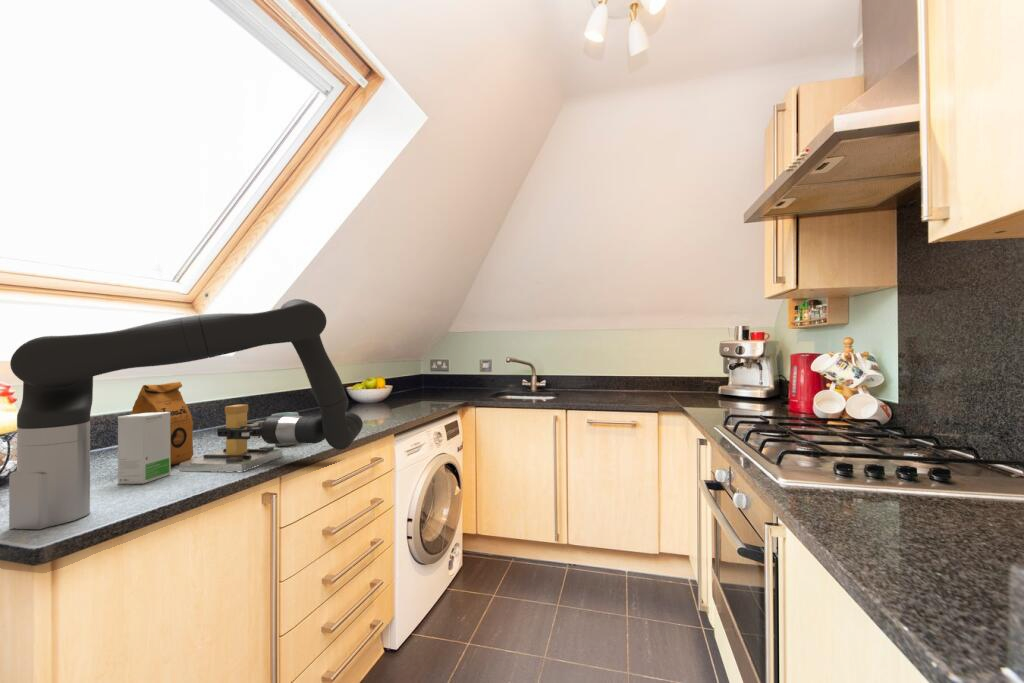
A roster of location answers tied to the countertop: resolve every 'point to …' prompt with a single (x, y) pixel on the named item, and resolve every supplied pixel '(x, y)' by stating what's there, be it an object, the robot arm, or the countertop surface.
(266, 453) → the plate
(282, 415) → the cup
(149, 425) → the skincare box
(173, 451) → the coffee package
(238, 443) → the handle
